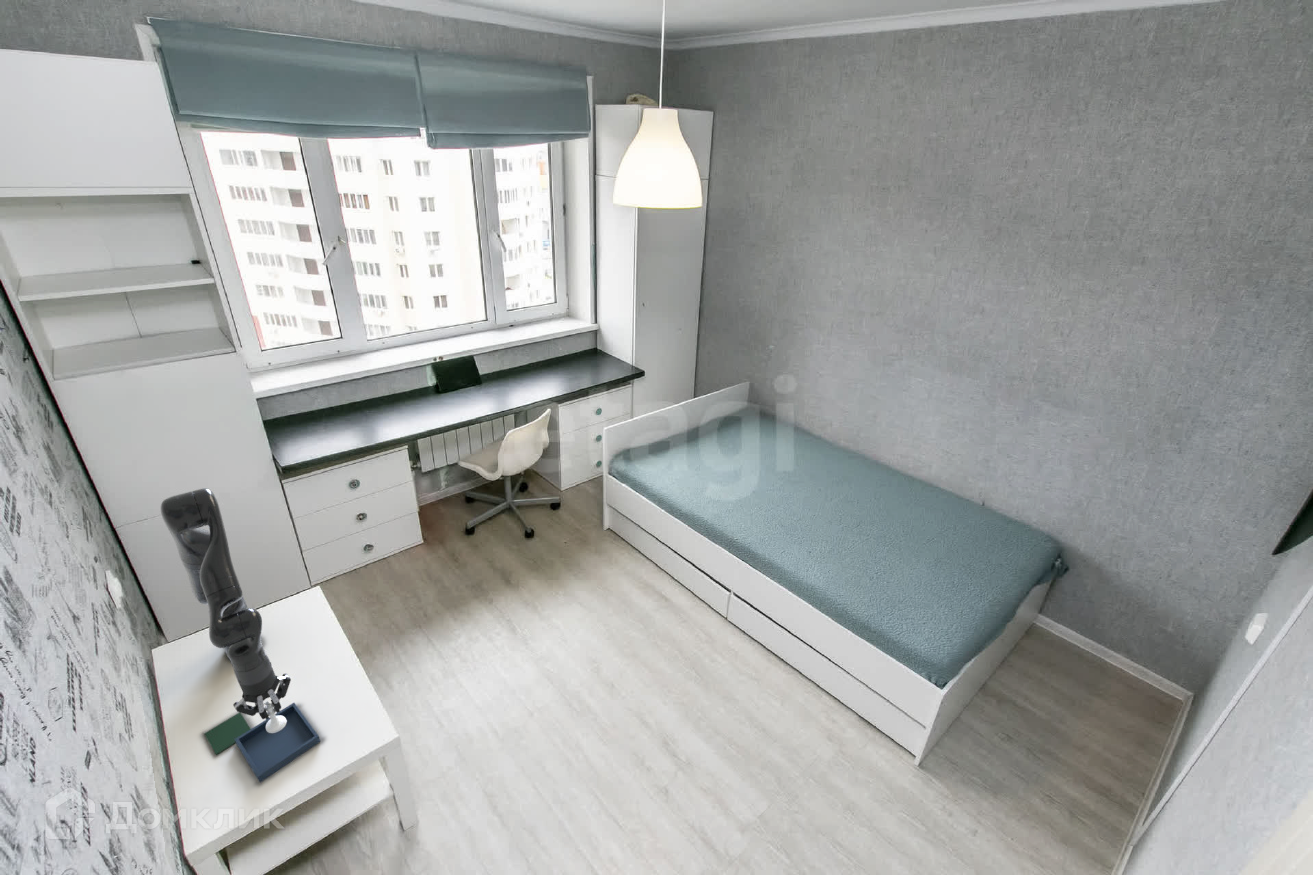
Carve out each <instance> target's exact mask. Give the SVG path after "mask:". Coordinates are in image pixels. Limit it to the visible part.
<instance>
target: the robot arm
mask: <svg viewBox="0 0 1313 875" xmlns="http://www.w3.org/2000/svg"><path fill="white" fill-rule="evenodd" d="M160 515H161V518H162V520H163V522H164V524H165V526H166V528H167V530H168V531H169V534H170V535H171V537H172V539H173V540H174V543H175V546H176V549H177V552H178V555H179V559H180V561H181V563H182V566H183V567H184V569H185V571H186V573H187V575H188V576H187V577H188V580H189V585H190V588H191V591H192V594H193V596H194V598H195V599H196V601H198V603H200V604H202V605H207V606H208V615H209V616H208V617H209V624H208V627H209V629H208V635H209V641H210V642H211V644H212V646H214V647H216V648H218V649H224V651H225V654H226V657H227V658H228V659H229V661H230V663H231V665H232V667H233V673H234V676H235V678H236V681H237V682H238V684H239V687H240V690H241V692H242V695H241V699H240V700H239V701H235V702H234V703H233V707H234V709H235V710H236V712H237V713H241V714H244V715H247V716H250V717H254V716H255V715H256V714H259V717H260V719H262V720H267V719H268V718H270V716H268V714H267V711H266V710H265V704H264V703H265V702H264V701H265V700H266V699H269V698H270V703H271V704H273V709H275V710H276V712H275V713H278V712H280V711H281V710H282V705H281V702H280V700H281V699H284V698H285V697H286V696H287V692H288V689H289V687H290V684H291V681H292V679H291V678H290V675H289V674H288V673H283V674H282V676H279V677H278V675H276V673H275V670H274V668H273V666H272V661H271V660H270V658H269V656H268V655H267V653H266V651H265V648H264V645H263V643H262V630H263V618H262V614H261V613H260V612H259V611H258V610H257V609H256V608H252V607H248V605H247V603H246V601H245V600H246V599H245V598H244V594H243V590H242V587H241V584H240V581H239V579H238V576H237V573H236V571H235V568H234V564H233V561H232V557H231V556H232V555H231V553H230V547H229V542H228V536H227V532H226V529H225V524H224V519H223V516H222V513H221V509H220V504H219V503H218V500H217V498H216V496H215V494H214V493H213V491H212V490H211V489H209V488H199V489H194V490H192V491H191V490H190V491H187V492H182V493H179V494H176V495H172V496H169V497H166V498H165V499H163V501H161V503H160ZM204 526H205V527H206V526H208V529H209V530H207V529H205V528H204V529H203V528H202V527H204ZM275 692H276V693H275ZM247 703H253V704H254V706H252V705H249V704H247Z"/></svg>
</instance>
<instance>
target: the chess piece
mask: <svg viewBox="0 0 1313 875" xmlns="http://www.w3.org/2000/svg"><path fill="white" fill-rule="evenodd" d="M263 703H264V708H265V710H266V712H267V714H268V717H269V718H271V719H270V720H269V721H268V722H267V724H266V731H267V732H269V733H276V732H278V731H280V730H282V729H283V728H284V727H285V725H286V723H287V720H286V718H285V717H284V716H281V715H279V716H276V715H275V714H276V713H277V712H276V710H275V709H274V707H273V704H272V702H269V701H267V700H266V701H265V702H263Z"/></svg>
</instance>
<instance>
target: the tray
mask: <svg viewBox="0 0 1313 875" xmlns="http://www.w3.org/2000/svg"><path fill="white" fill-rule="evenodd" d="M275 715H276V716H279V715H281V716H284V717H285V718H286V720H287V723H286V725H285V727H284V728H283V729H282V730H280V731H278V732H276V733H269V732H267V731H266V724H267V722H268V721H269V720H270V719H271V718H270V717H269V718H268V719H267V720H266V719H264V720H263V721H261V722H260V723H259V724H256V725H255V726H253V727H252V728H250V730H249V731H247V732H245V733H244V734H242V735H241V736H239V737H237V738H236V739H234V740H235V742H236V743H235V745H236V746H237V748H238V749H239V751H240V752H241V754H242V756H243V758H244V759H245V761H246V762H247V764H248V766H249V767H250V769H251V771H252V773H253V774H254V775H255V777H256V778H257V780H258V782H259V783H262V782H264V781H265V780H266V779H268V778H269V777H271V776H272V775H274V774H275V773H276V772H278V771H280V770H281V769H283V768H284V767H285V766H286V765H289V763H291V762H293V761H294V760H296V759H297V758H298V757H300V756H302V755H303V754H305V753H306V752H307V751H309V750H311V749H312V748H313V747H315V746H316V745H318V744H319V743H320V742H321V739H320V736H319V734H318V733H317V731H316V730H315V728H313V726H312V724H311V723H310V722H309V720H308V719H307V718H306V716H305V715H304V714H303V712H302V711H301V710H300V708H299V707H298V706H297V704H296V703H295V702H292V703H291V704H289V705H287V706H285V707H283V709H280V712H278V713H277V712H275Z"/></svg>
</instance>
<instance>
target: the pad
mask: <svg viewBox="0 0 1313 875" xmlns="http://www.w3.org/2000/svg"><path fill="white" fill-rule="evenodd" d="M250 729H251V727H250V725H249V723H248V722H247V720H246V719H245V717H244V716H243V714H242V713H240V712H237V713H236V714H235V715H232V716H231V717H229V718H228V719H226V720H224V721H222V722H221V723H219V724H218V725H216V726H215V727H213V728H211V729H209V730H208V731H205V733H203V734H204V736H205V738H206V740H207V741H208V743H209V745H210V747H211V748H212V750H213V752H214V754H215V756H218V755H219V754H221V753H222V752H224V751H225V750H227V749H229V748H230V747H232V746H234V745H236V742H235V740H234V739H236V738H237V737H239V736H241V735H242V734H244V733H245V732H247V731H249V730H250Z"/></svg>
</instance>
